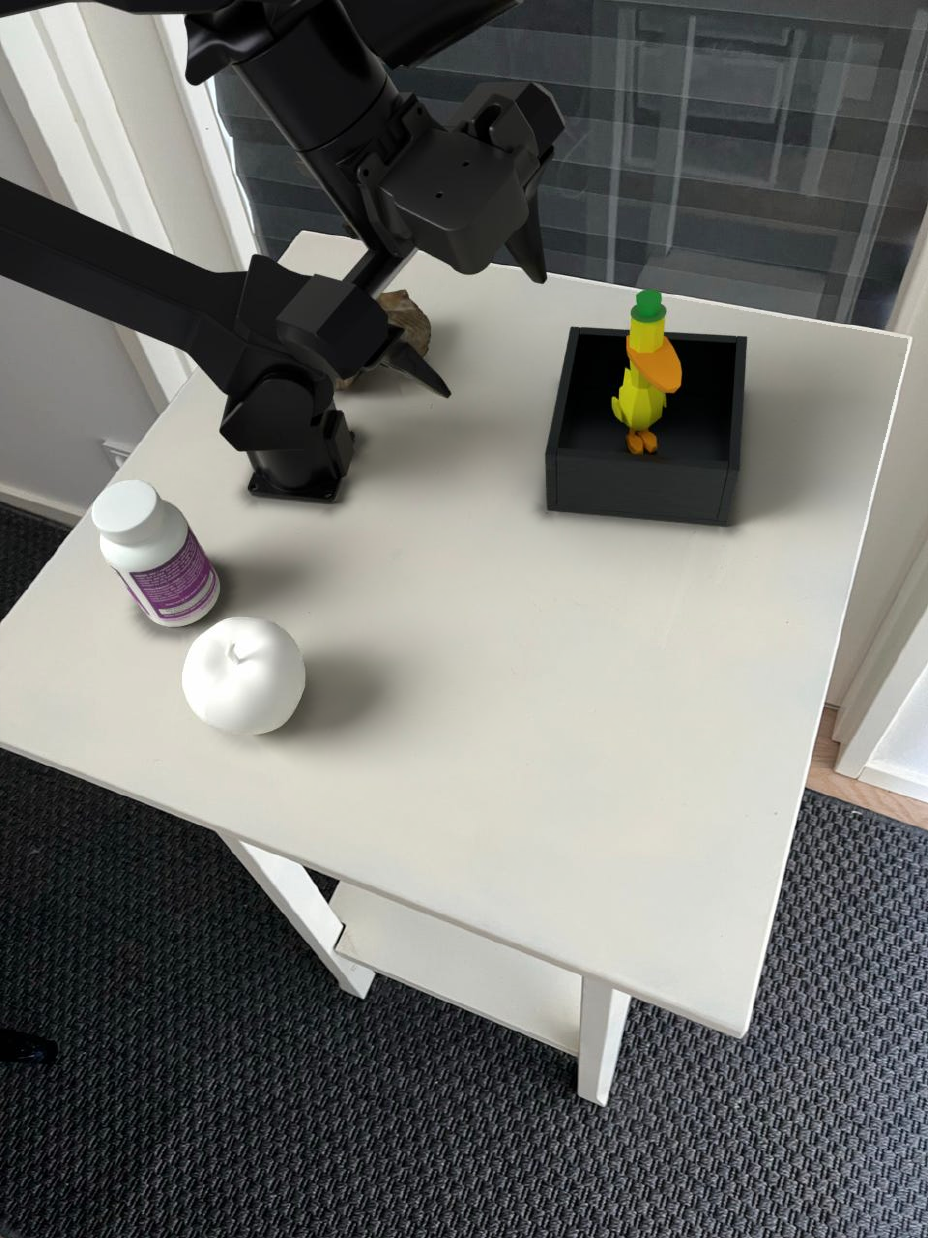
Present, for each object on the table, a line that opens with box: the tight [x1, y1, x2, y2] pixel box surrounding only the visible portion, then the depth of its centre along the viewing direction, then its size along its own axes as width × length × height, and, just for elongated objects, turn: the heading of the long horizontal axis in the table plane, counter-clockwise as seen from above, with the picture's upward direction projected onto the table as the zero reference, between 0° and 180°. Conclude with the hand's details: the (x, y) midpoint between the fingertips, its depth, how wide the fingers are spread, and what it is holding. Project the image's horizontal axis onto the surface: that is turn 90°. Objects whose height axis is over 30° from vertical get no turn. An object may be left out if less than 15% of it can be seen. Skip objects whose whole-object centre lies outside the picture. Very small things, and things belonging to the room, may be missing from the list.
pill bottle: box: [91, 478, 221, 628], centre depth 58 cm, size 5×5×10 cm
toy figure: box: [612, 288, 682, 455], centre depth 59 cm, size 7×4×12 cm, turn 18°
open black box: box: [544, 326, 748, 528], centre depth 63 cm, size 12×12×6 cm
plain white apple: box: [181, 616, 306, 736], centre depth 54 cm, size 7×7×8 cm
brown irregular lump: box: [335, 288, 432, 392], centre depth 70 cm, size 8×7×10 cm
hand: (493, 337), depth 56 cm, fingers open, 9 cm apart
